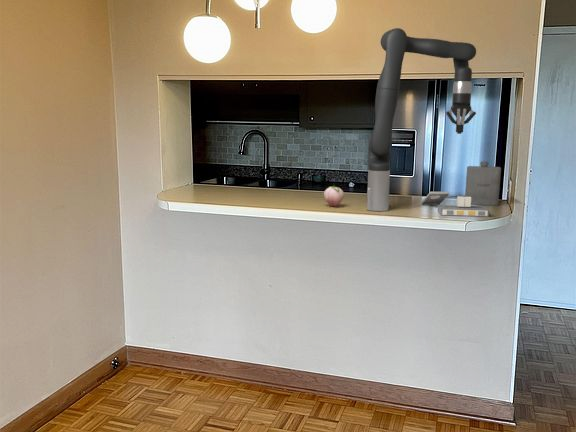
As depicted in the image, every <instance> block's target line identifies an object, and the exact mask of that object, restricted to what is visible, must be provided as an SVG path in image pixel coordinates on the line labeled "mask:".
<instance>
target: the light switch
mask: <svg viewBox="0 0 576 432" xmlns="http://www.w3.org/2000/svg"><path fill="white" fill-rule="evenodd" d="M449 195H450V191H429V193H428V194H427V195H426V196H425V197H424V198H423V200H422V201H421V202H420V203H421V206H423V205H422V204H428V205H429V204H430V205H431V206H432V205H433V206H438V205H442V204H441V203H443V201H445V200H446V198H447V197H448V196H449ZM428 205H427V206H428ZM430 205H429V206H430Z"/></svg>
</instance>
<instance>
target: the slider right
mask: <svg viewBox="0 0 576 432" xmlns="http://www.w3.org/2000/svg"><path fill="white" fill-rule="evenodd" d="M463 196H464V197H465V203H464V207H471V206H472V205H471V196H465V195H463Z"/></svg>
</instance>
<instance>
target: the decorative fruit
mask: <svg viewBox="0 0 576 432" xmlns="http://www.w3.org/2000/svg"><path fill="white" fill-rule="evenodd" d="M323 197H324V201H326V203H327V204H328V205H330V206H331V207H332V208H334V207H335V206H338V205H340V204H341V203H342V202H343V200H344V198H345V193H344V191H343V189H341V188H340V187H339V186H338V187H337V186H335V185H333V186H328V187H327V188H326V189H325V190H324V192H323Z"/></svg>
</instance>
